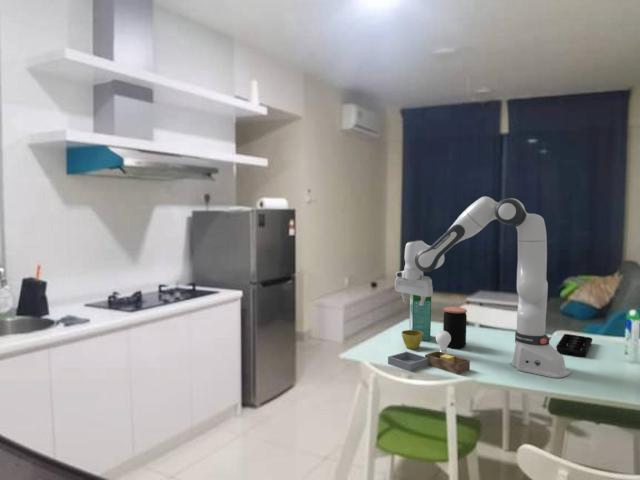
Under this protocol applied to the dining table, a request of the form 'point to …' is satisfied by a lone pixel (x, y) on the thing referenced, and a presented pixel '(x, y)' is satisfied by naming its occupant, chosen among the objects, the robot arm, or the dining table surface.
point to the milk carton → (420, 316)
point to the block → (447, 358)
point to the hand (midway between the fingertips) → (413, 303)
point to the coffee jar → (455, 326)
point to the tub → (408, 361)
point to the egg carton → (574, 345)
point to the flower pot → (412, 338)
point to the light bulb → (443, 340)
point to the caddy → (448, 363)
